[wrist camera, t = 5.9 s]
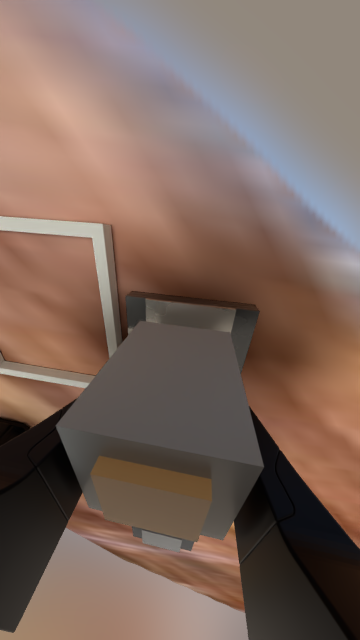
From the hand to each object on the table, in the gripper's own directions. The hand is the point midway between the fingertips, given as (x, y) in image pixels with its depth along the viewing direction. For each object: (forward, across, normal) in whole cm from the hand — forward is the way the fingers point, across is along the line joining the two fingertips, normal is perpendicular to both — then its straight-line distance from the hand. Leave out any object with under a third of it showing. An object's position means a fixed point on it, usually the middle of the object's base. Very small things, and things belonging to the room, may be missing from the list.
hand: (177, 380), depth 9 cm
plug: (+1, 0, 0) cm, 1 cm away
